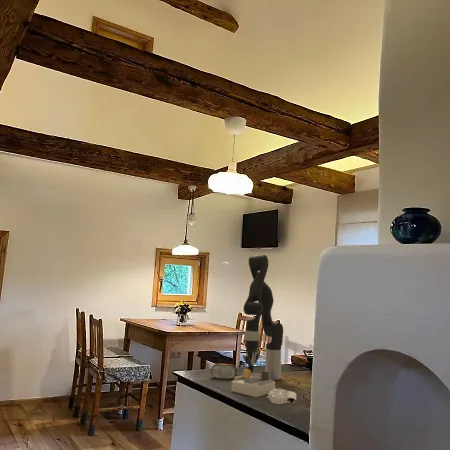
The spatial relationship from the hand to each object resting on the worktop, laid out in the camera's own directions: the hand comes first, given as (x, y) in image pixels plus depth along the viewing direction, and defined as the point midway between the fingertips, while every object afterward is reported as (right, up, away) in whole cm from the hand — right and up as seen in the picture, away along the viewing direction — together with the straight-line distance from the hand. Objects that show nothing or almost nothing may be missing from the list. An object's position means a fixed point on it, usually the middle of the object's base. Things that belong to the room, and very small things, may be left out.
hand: (250, 371), depth 241 cm
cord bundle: (+7, -9, +3) cm, 12 cm away
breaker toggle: (-2, -3, -3) cm, 5 cm away
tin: (-15, -11, +20) cm, 27 cm away
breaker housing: (+1, -8, -7) cm, 10 cm away
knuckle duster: (+14, -8, -20) cm, 26 cm away
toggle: (+7, -3, -6) cm, 10 cm away
